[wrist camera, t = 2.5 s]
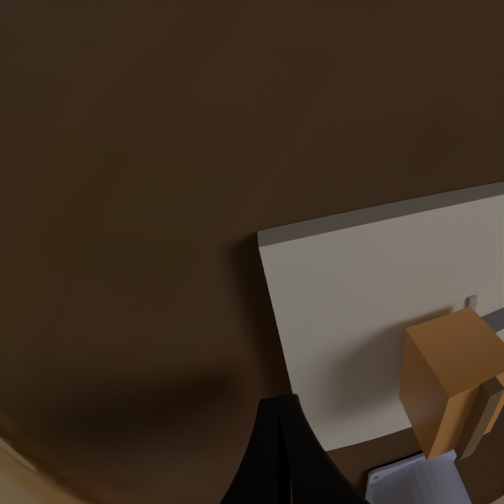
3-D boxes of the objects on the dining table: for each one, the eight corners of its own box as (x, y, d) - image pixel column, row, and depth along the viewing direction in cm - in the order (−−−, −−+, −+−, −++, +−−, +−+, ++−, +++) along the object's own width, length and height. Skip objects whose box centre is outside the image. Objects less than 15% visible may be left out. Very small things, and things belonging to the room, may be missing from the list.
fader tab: (455, 376, 12) (495, 441, 8) (398, 397, 12) (431, 472, 8) (469, 306, 10) (530, 373, 6) (405, 328, 10) (457, 412, 7)
